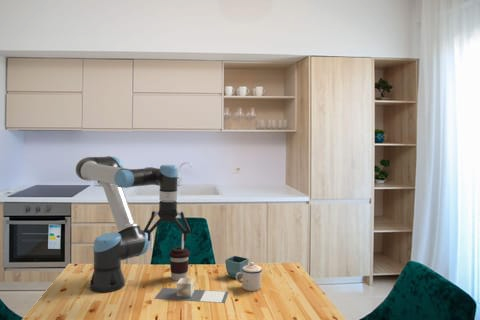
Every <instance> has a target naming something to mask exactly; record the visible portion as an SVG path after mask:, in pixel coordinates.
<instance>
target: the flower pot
mask: <svg viewBox="0 0 480 320" xmlns="http://www.w3.org/2000/svg"><path fill="white" fill-rule="evenodd" d="M249 260H250V259H249V258H247V257H243V256H238V255H232V256H230V257H228V258H226V259H225V260H224V262H225V270H226V273H227V275H228V277H230V278H232V279H236V274H237V273H238V272H243V271H242V268H243V267H244V266H246V265H249ZM241 278H243V274H239V275H238V276H237V279H238V280H239V279H241Z"/></svg>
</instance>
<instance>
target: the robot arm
mask: <svg viewBox="0 0 480 320" xmlns="http://www.w3.org/2000/svg"><path fill="white" fill-rule="evenodd" d="M75 173H76V176H77V177H78V178H80V180H84V181H88V182H91V181H97V183H98V185H99V186H100V187H102V188H103V190H104V193H105V197H106V200H107V202H108V205H109V209H110V210H111V214H112V217H113V219H114V222H115V225H116V228H117V231H116V232H109V233H108V232H106V233H103V234H101V235H99V236H96V237H95V239H94V240H93V241H94V242H93V247H92V249H93V272H92V276H91V279H90V281H89V289H90V291H93V292H95V293H110V292H114V291H119V290H121V289H122V288H123V287H125V284H126V280H125V276H124V274H123V271H122V268H121V267H122V265H121V264H122V261H123V260H128V259H132V258H136V257H140V256H142V255H144V254H146V253H147V252H148V250H152V249H153V246H154V232H153V231H154V230H155V229H156V228H157V227H158V226H159V224H160V223H162V222H163V223H166V222H167V223H172V222H173V223H174V224H175V226H177V228H178V229H179V230H180V231H181V232H182V234H181V247H182V249H184V248H185V247H184V246H185V242H187V238H188V237H187V234H190V233H191V228H190V225H189V223H188V222H187V219H186V217H185V212H184V211H183V210H182V211H178V210H177V206H178V202H177V199H178V175H179V174H178V173H179V172H178V166H177V165H173V164H162V165H160V166H159V168H157V167H152V166H151V167H144V168H125V167H124V166H123V163H122V161H121V160H120V159H119V158H118V157H116V156H109V155H107V156H87V157H84V158H82V159H80V160H79V161H78V162H77V164H76V166H75ZM143 186H144V187H145V186H159V205H158V208H159V209H158V211H156V210H152V212H151V216H150V218H149V220H148V222H147V224H146V226H145V227H144V229H141V226H140V224H137V223H136V222H135V219H134V217H133V214H132V210H131V208H130V205H129V202H128V200H127V197H126V194H125V191H124V188H125V189H128V188H134V187H143ZM156 216H158V217H159V219H158V220H156V222H155V223H154V224H153V225H152V226H151V227H150V225H151V224H152V222H153V220H154V218H155V217H156ZM177 216H179V218H180V219H181V220H182V223H183V224H184V226H183V225H182V224H181V222H180V221H179V220H178V218H177ZM149 228H150V229H149Z"/></svg>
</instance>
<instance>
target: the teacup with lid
mask: <svg viewBox="0 0 480 320" xmlns="http://www.w3.org/2000/svg"><path fill="white" fill-rule="evenodd" d="M242 271H243V272H238V273H237V274H236V278H235V279H236V282H238V283H239V284H242V286H241V287H242V289H243V290H245V291H248V292H255V291H259V290H261V289H262V271H263V269H262V267H261V266H259V265H257V264H256V263H255V262H253V261H252V262H250V263H248V265H246V266H244V267H243V268H242ZM239 274H243V277H241V278H242V280H239V279H237V276H238V275H239Z"/></svg>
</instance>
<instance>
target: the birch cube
mask: <svg viewBox="0 0 480 320" xmlns="http://www.w3.org/2000/svg"><path fill="white" fill-rule="evenodd" d="M176 282H177V283H176V289H177V297H185V298H191V297H192V295H193V293H194V290H195V278H188V277H187V278H180V280H179V281H176Z"/></svg>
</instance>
